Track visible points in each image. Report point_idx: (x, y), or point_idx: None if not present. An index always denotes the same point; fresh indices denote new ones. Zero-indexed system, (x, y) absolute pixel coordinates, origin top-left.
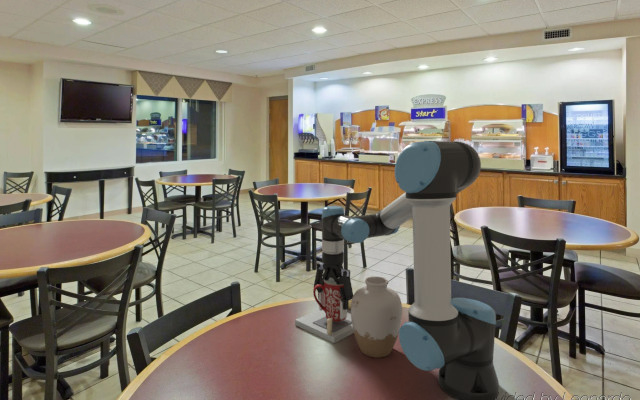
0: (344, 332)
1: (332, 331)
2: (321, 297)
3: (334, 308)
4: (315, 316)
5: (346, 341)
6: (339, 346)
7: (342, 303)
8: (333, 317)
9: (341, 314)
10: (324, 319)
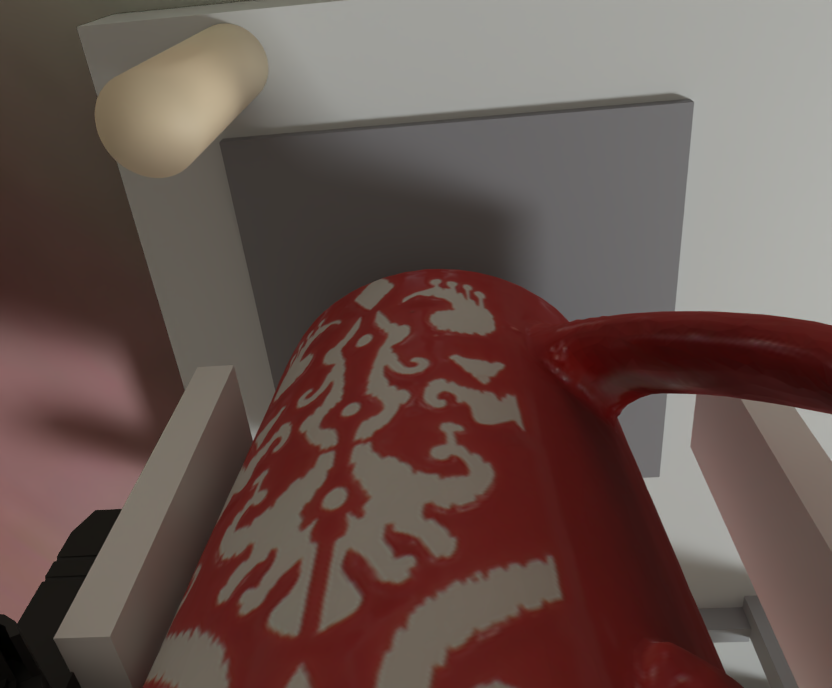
0: (145, 255)
1: (244, 138)
2: (802, 533)
3: (289, 426)
4: (806, 281)
5: (85, 184)
6: (11, 17)
7: (94, 595)
8: (340, 319)
9: (181, 415)
10: (612, 301)
